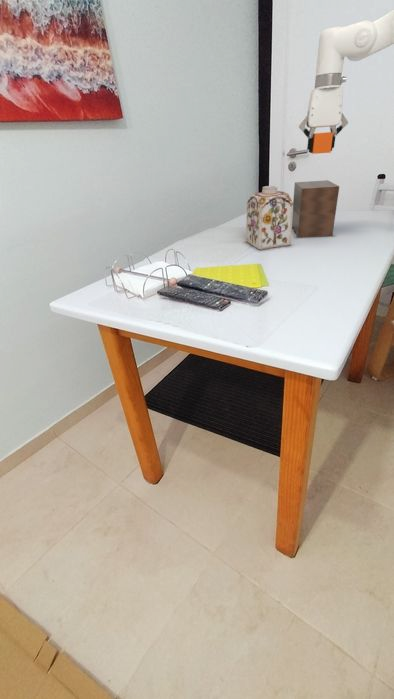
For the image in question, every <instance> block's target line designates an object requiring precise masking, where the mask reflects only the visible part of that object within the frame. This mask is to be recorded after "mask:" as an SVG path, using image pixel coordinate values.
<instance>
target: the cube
mask: <svg viewBox="0 0 394 699" xmlns="http://www.w3.org/2000/svg"><path fill="white" fill-rule="evenodd" d="M332 138H333V132H331V131H328V132H314V134H313V139H314V141H313V151H312V152H311V153H310V154H312V155H317V154H328V153H329V154H330V153H331V152H332V151H331V146H332Z"/></svg>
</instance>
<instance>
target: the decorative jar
mask: <svg viewBox="0 0 394 699" xmlns="http://www.w3.org/2000/svg"><path fill="white" fill-rule="evenodd" d="M292 218H293V199H292V198H291V196H290V194H289V193H288V192H286V191H279V190H278V186H276V185H266V186H262V189H261V191H260V192H255V193H253V194H251V195H250V197H249V199H248V200H247V202H246V233H245V235H246V242H247V243H248V244H249V245H251V246H252V247H254V248H256V249H258V250H259V251H260V250H267V249H275V248H279V247H287V246H291V241H292V230H293V227H292Z"/></svg>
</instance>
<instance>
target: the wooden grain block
mask: <svg viewBox="0 0 394 699" xmlns="http://www.w3.org/2000/svg"><path fill="white" fill-rule="evenodd" d="M339 192H340V186H339V185H338V184H336V183H334V182H332V181H330V180H328V179H327V180H326V179H325V180H312V181H295V182H294V188H293V199H292V202H293V218H292V230H294V232H295V234H296V237H297V238H316V237H318V238H319V237H333V234H334V227H335V222H336V221H335V220H336V213H337V206H338V199H339Z"/></svg>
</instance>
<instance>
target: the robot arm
mask: <svg viewBox="0 0 394 699" xmlns="http://www.w3.org/2000/svg"><path fill="white" fill-rule="evenodd" d="M392 45H394V9H393V10H391V11H389V12H388V13H387V14H385V15H383V16H382V17H379V18H378V19H376V20H374V21H371V20H362V21H358V22H355V23H352V24H349V25H346V26H345V25H344V26H333V27H329V28H326V29H324V30H323V31H322V32H321V33H320V35H319V40H318V48H317V60H316V71H315V79H314V80H315V81H314V89H312V90H311V92H310V96H309V99H308V100H309V101H308V106H307V114H306V116H305V117H304V119H303V120H302V121H301V123H300V124H299V125H298V129H299V130H301V132H303V134H304V135H305V136H306V138H307V148H306V150H308V153H309V154H312V153H311V152H312V151H313V141H314V139H313V134H314V133H315V131H316V129H317V128H327V127H329V132H333V138H332V146H331V152H332V151H333V149H334V148H335V144H336V143H335V142H336V137H337V136H338V135H339V133H340V132H341V131H342V130H343V129H344V128H345V127H346V126H347V125H348V124H349V121H348V119H347V118H346V117H345V115H344V114H343V102H344V101H343V99H344V94H343V92H344V91H343V87H342V86H341V85H342V84H344V83H346V82H347V76H344V75H343V69H344V63H345V62H344V60H345V58H346V59H348V60H349V61H350V62H359V61H362V60H364V59H366V58H368V57H370V56H372V55H374V54H376V53H378V52H381V51H382V50H384V49H386V48H388V47H391V46H392ZM307 128H309V129H307Z"/></svg>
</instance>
